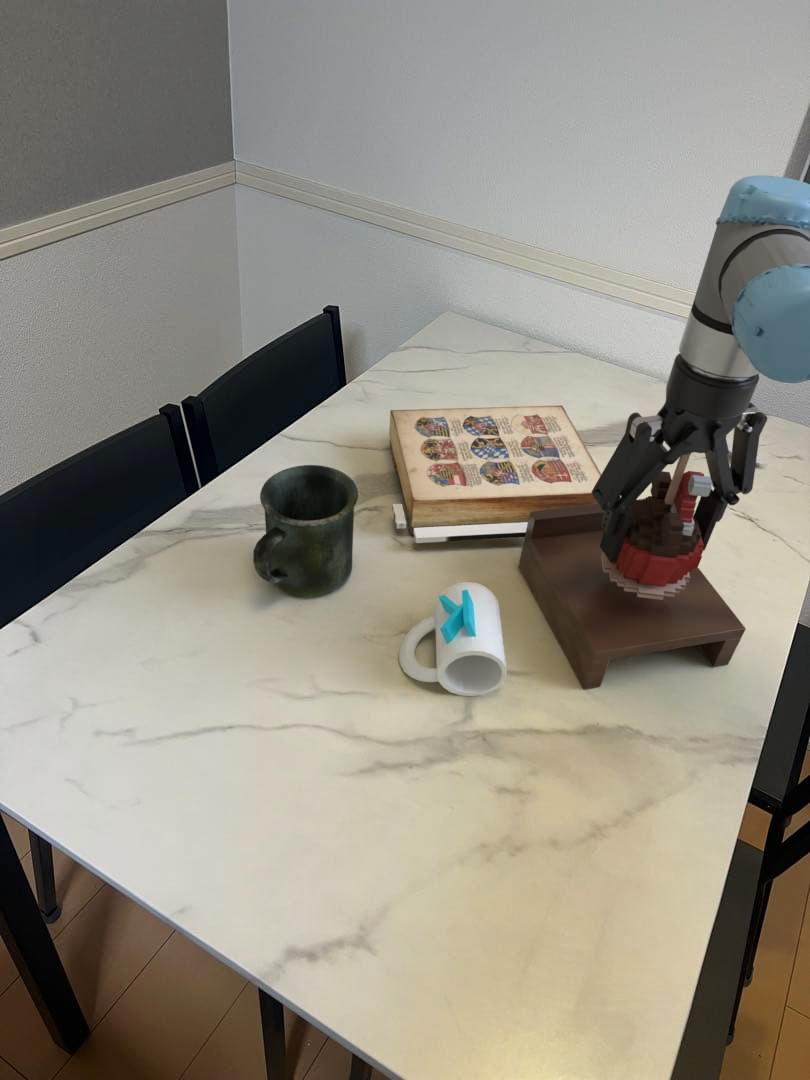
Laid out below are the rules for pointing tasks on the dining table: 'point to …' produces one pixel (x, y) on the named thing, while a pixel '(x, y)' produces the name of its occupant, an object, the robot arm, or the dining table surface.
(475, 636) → the mug
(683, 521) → the cake
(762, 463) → the flower
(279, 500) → the mug
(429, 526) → the book
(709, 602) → the shelf
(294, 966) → the dining table surface
